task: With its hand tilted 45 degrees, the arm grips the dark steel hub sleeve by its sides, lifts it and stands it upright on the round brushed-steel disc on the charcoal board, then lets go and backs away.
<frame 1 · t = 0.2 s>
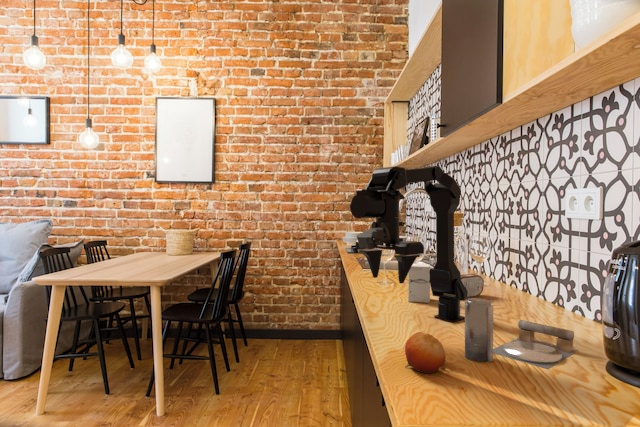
hand: (387, 280, 96), 14 cm above the counter, tool pointing down, fingers open, 9 cm apart
board: (533, 356, 84), on the counter
supplement box: (419, 300, 137), on the counter
bar handle: (544, 344, 88), resting on board
tin: (467, 297, 142), on the counter
fruit: (424, 370, 77), on the counter
flange disc: (531, 353, 82), resting on board
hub: (477, 363, 80), on the counter
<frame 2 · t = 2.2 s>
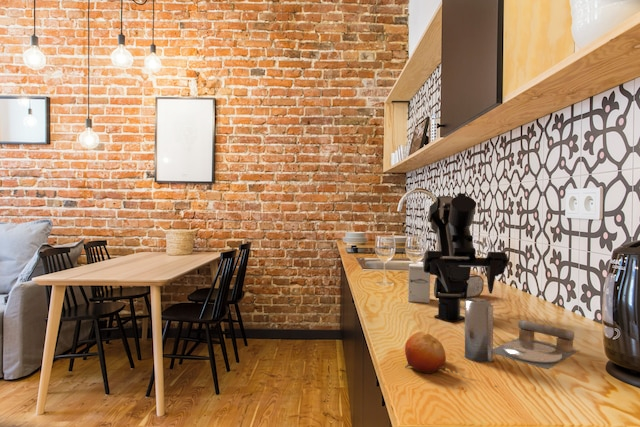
hand: (469, 292, 87), 13 cm above the counter, tool tilted 45°, fingers open, 9 cm apart
nothing on the counter moved.
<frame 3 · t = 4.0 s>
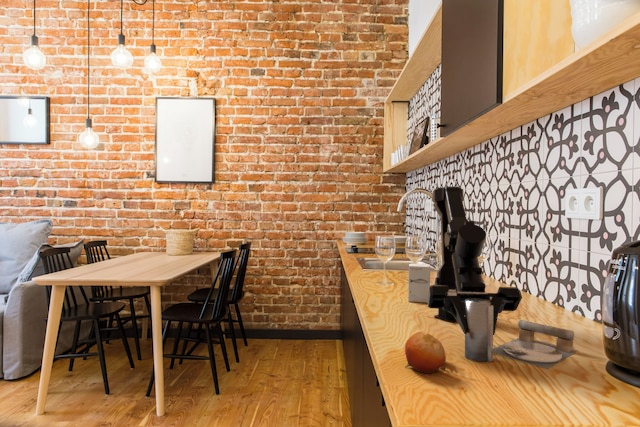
hand: (479, 333, 79), 7 cm above the counter, tool tilted 45°, fingers closed on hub, 5 cm apart
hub: (477, 363, 80), on the counter, touching gripper
everything else where it was.
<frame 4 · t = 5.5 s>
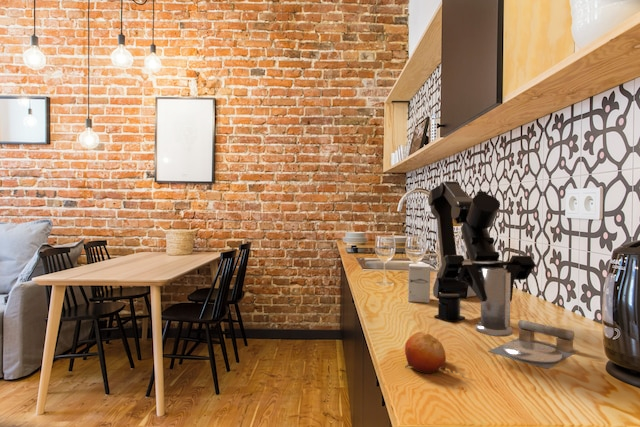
hand: (496, 300, 79), 13 cm above the counter, tool tilted 45°, fingers closed on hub, 5 cm apart
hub: (493, 330, 81), point 7 cm above the counter, touching gripper
everything else where it was.
when the fingers open (10 cm above the counter, at t = 7.2 s): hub stays where it is, resting on flange disc.
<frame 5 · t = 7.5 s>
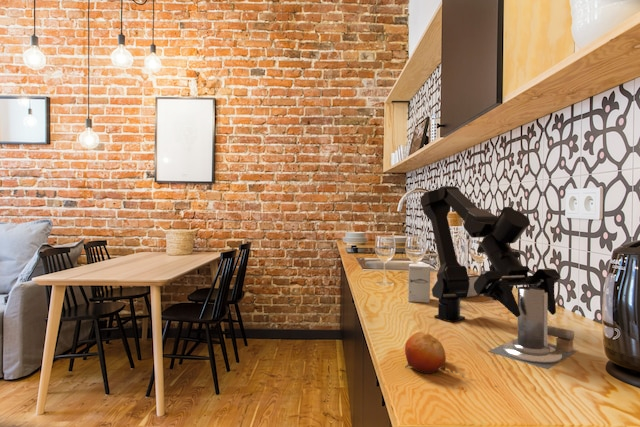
hand: (536, 314, 81), 10 cm above the counter, tool tilted 45°, fingers open, 8 cm apart
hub: (530, 349, 83), point 2 cm above the counter, touching flange disc
everything else where it was.
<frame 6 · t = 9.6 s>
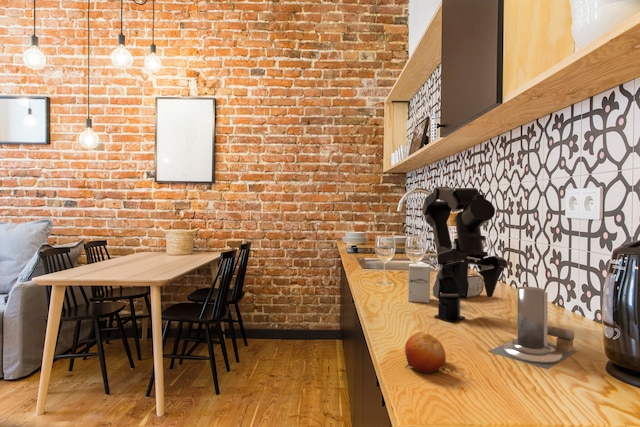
hand: (477, 295, 93), 11 cm above the counter, tool tilted 20°, fingers open, 9 cm apart
nothing on the counter moved.
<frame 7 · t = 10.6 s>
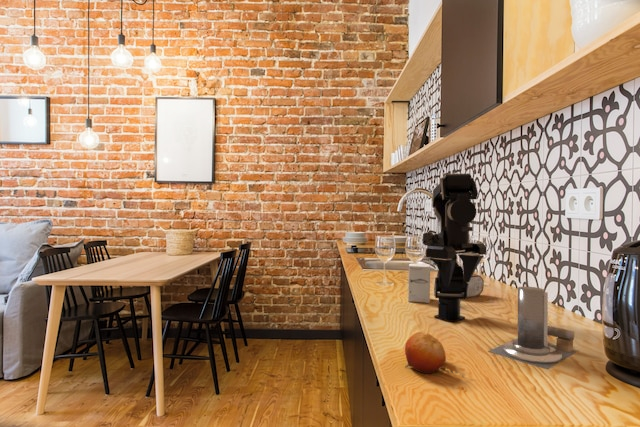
hand: (456, 284, 98), 13 cm above the counter, tool pointing down, fingers open, 9 cm apart
nothing on the counter moved.
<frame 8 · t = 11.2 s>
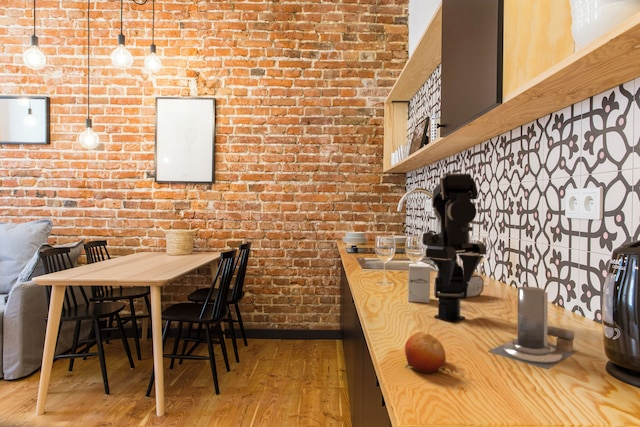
hand: (456, 284, 98), 13 cm above the counter, tool pointing down, fingers open, 9 cm apart
nothing on the counter moved.
at the end: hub 0.2 cm from the flange disc (horizontally); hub tilted 0°; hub point 2.0 cm above the counter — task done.
